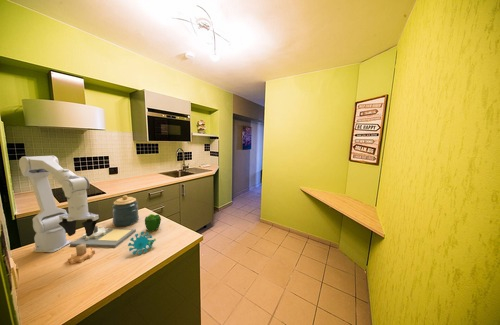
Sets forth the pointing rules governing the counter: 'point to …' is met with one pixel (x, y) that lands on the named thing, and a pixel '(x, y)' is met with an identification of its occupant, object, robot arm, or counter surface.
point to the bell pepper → (152, 222)
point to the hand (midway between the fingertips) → (81, 235)
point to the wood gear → (81, 254)
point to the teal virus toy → (141, 242)
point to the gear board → (104, 237)
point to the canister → (125, 211)
